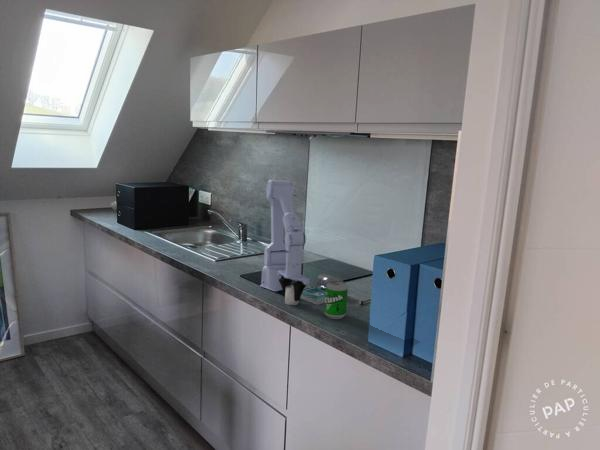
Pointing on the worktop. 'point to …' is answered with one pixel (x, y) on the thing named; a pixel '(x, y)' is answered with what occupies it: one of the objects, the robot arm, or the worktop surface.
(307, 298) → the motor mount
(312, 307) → the worktop surface
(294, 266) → the robot arm
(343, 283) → the soda can
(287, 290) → the grey rounded piece
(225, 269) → the worktop surface
